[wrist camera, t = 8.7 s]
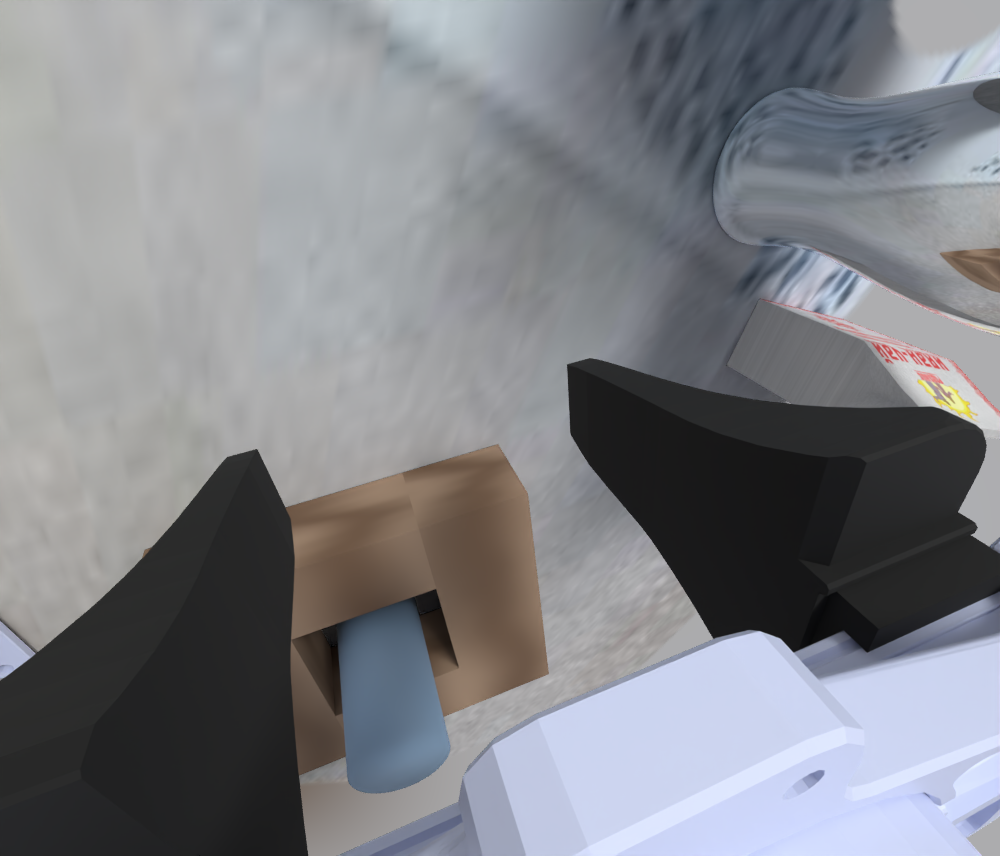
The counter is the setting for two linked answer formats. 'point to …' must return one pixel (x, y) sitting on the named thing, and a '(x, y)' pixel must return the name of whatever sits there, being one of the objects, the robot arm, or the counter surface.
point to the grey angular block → (851, 367)
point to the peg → (389, 700)
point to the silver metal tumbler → (877, 189)
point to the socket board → (417, 585)
